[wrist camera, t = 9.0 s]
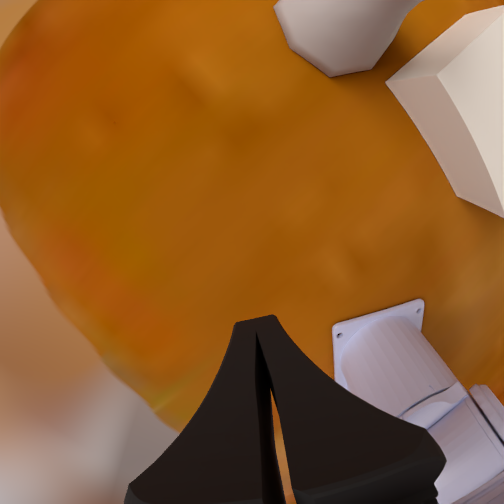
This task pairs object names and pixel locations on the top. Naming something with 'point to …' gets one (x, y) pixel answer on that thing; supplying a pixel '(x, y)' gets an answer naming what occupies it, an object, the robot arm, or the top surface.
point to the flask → (341, 31)
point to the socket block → (462, 104)
